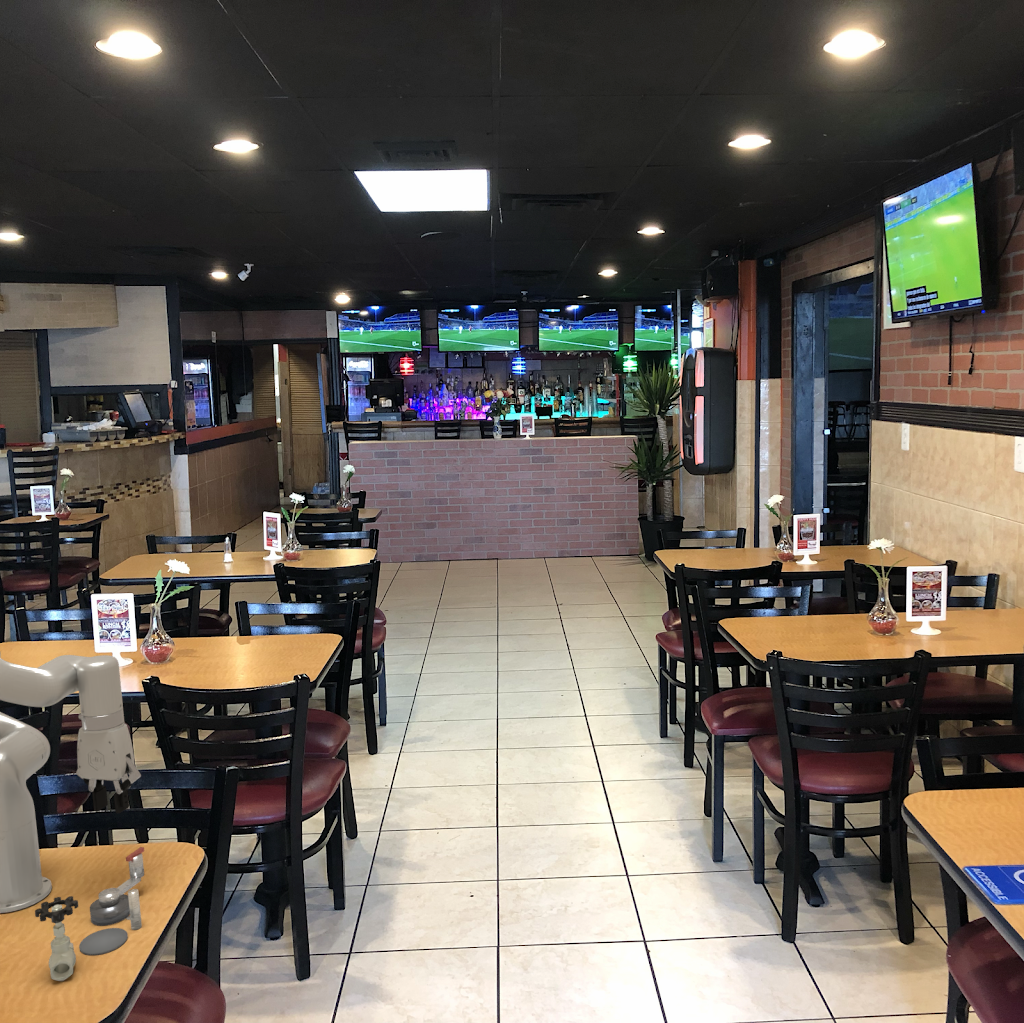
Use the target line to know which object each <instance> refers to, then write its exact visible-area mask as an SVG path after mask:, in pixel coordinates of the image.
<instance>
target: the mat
mask: <svg viewBox="0 0 1024 1023" xmlns="http://www.w3.org/2000/svg"><path fill="white" fill-rule="evenodd" d="M128 939H129V935H128V932H127V931H126V930H125V929H123V928H120V927H109V928H103V929H101V930H98V931H95V932H93V933H90V934H89V935H87V936H86V937H84V938H83V939H82V940H81V942H80V943H79V945H78V946H79V947H78V950H79V952H81V954H83V955H86V956H101V955H104V954H108V953H111V952H113V951H116V950H117V949H119V948H120V947H122V946H123V945H124V944H125V943H126V942H127V941H128Z"/></svg>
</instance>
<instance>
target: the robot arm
mask: <svg viewBox="0 0 1024 1023" xmlns="http://www.w3.org/2000/svg"><path fill="white" fill-rule="evenodd" d="M1 656H2V654H1V652H0V701H3V702H7V703H11V704H16V705H21V706H26V707H32V708H33V707H34V708H46V707H50V706H53V705H55V704H58V703H59V702H60V701H62V700H63V699H64V698H66V697H67V696H70V695H72V694H73V693H77V692H78V696H79V698H78V699H79V708H80V712H79V714H78V719H79V720H81V724H82V725H81V727H80V728H79V730H78V736H77V744H76V754H77V755H76V756H77V758H76V759H77V760H76V762H77V770H76V773H75V774H76V775H77V776H78V777H79V778H80V779H81V780H83V782H84V783H85V784H86V785H87V786H88V791H89V792H91V793H92V802H93V811H94V812H99V811H101V810H102V809H104V808H105V807H107V806H108V804H109V801H108V792H107V791H108V790H107V787H106V785H104V781H106V782H107V781H109V782H112V783H113V786H114V789H115V793H114V795H113V799H114V800H113V801H114V809H115V810H114V811H115V813H116V814H121V813H122V812H124V811H126V810H127V809H129V807H130V801H129V800H130V799H129V789H130V788H131V786H132V785H133V784H134V782H136V781H137V780H138V779H140V778H141V777H142V774H141V772H140V771H139V769H138V768H137V767H136V764H135V754H134V749H133V743H132V739H131V734H130V731H129V728H128V725H127V724H126V723H125V716H124V715H125V714H124V706H123V705H124V704H123V694H122V685H121V682H122V681H121V673H120V672H121V671H120V664H119V660H118V659H117V658H116V657H115V656H112V655H107V654H105V655H104V654H102V655H95V656H83V655H74V654H65V655H63V654H62V655H59V656H56V657H55V658H53V659H51V660H49V661H48V662H45V663H44V664H42V665H39V666H38V667H33V666H28V665H22V664H18V663H13V662H9V661H6V660H5V659H3V658H1ZM50 754H51V745H50V742H49V740H48V738H47V737H46V736H45V735H44V734H43V733H42V732H41V731H40V730H38V729H37V728H35V727H33V726H32V725H29V724H28V723H25V722H23V721H22V720H19V719H16V718H14V717H12V716H9V715H8V714H5V713H3V712H1V711H0V914H4V913H5V914H6V913H12V912H15V911H21V910H23V909H26V908H29V907H31V906H34V905H35V904H37V903H39V902H41V901H42V900H43V899H45V898H46V897H47V896H48V895H49V894H50V893H51V891H52V889H53V887H52V886H53V885H52V881H51V879H49V878H47V877H45V876H43V875H42V865H41V857H40V856H41V855H40V847H39V846H40V845H39V837H38V836H39V835H38V829H37V820H36V811H35V810H36V809H35V805H34V804H35V803H34V800H33V799H34V798H33V797H32V795H31V793H30V791H29V789H28V787H27V783H26V782H27V780H28V779H29V778H30V777H31V776H32V775H33V774H35V773H36V772H38V770H40V769H42V767H43V766H44V765H45V764H46V763H47V761H48V759H49V757H50ZM128 775H129V776H128Z"/></svg>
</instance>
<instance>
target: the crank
mask: <svg viewBox="0 0 1024 1023" xmlns="http://www.w3.org/2000/svg"><path fill="white" fill-rule="evenodd" d="M144 852H145V846H140V847H139V848H137V849H135V850H134V851H132V852H131V853H130V854H129V855H127V856H125V862H128V868H129V879H127V880H126V881H124V882H123V883H122V884H120V885H118V887H110V888H109V887H108V888H105V889H103V890H101V891H100V892H99V893H98V899H99V905H100V906H102V907H108V906H112V905H115V904H117V903H118V902H119V901H120V896H121V895H123V894H125V893H128V891H129V890H132V889H133V887H134V886H136V885H137V884H139V883H140V882H141V881H142V878H143V877H144V876H145V869H144V858H143V857H144V856H143V853H144Z"/></svg>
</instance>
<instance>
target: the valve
mask: <svg viewBox="0 0 1024 1023" xmlns="http://www.w3.org/2000/svg"><path fill="white" fill-rule="evenodd" d="M63 906H65V907H63ZM73 907H74V909H77V908H79V901H78V900H76V899H75V900H74V896H72V895H70V896H67V897H66V898H65V899H62V897H61V896H56V897H54V899H53V901H51V902H49V901H43V902H42V903H41V904H40V908H36V909H35V910H34V915H35V916H34V917H36V918H39V922H41V923H42V922H46V921H47V919H50V920H51V923H53V924H55V925H53V927H52V931H53V936H54V938H53V939H52V940H51V942H50V950H51V955H50V956H49V959H48V968H49V972H50V978H51V979H52V980H54V981H58V982H64V981H65V980H67V979H69V977H70V976H71V975H73V974H74V966H75V965H76V961H77V956H76V953H75V950H74V949H75V947H74V943H73V942H71V938H70V936H69V935H66V934H65V933H66V927H65V923H63V921H64V920H65V916H72V915H73V914H74V910H73ZM49 909H51V911H50V910H49Z"/></svg>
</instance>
